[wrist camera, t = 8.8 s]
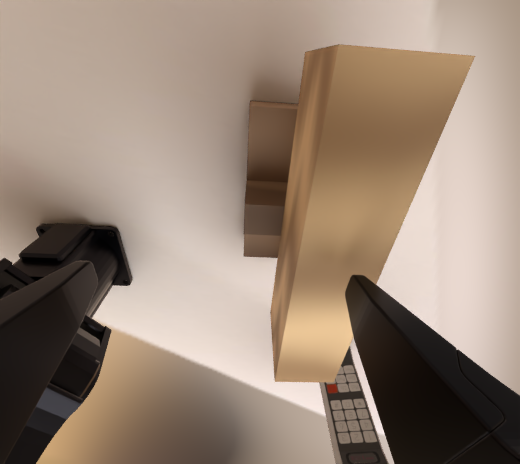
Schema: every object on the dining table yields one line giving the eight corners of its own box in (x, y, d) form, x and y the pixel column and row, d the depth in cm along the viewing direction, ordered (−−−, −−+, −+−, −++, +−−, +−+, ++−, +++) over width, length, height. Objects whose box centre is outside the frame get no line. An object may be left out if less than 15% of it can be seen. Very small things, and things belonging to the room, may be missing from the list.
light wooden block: (316, 313, 19) (333, 382, 15) (270, 312, 19) (274, 381, 15) (388, 58, 11) (475, 56, 6) (305, 52, 10) (338, 44, 6)
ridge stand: (333, 242, 23) (354, 292, 18) (244, 238, 23) (241, 288, 18) (369, 109, 17) (416, 128, 12) (250, 100, 17) (248, 116, 12)
